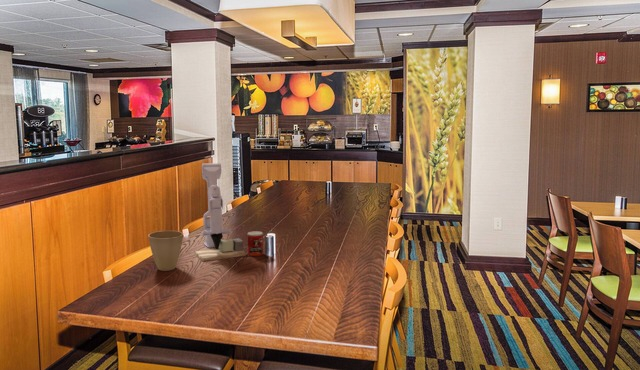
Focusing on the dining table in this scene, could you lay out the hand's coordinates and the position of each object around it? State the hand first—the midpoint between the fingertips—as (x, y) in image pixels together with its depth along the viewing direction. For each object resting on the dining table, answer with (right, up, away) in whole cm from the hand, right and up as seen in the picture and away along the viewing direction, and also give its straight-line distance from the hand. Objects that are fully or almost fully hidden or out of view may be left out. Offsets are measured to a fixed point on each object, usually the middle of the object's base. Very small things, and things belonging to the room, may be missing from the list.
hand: (216, 248), depth 247 cm
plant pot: (-18, -7, -21) cm, 29 cm away
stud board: (+1, -3, +1) cm, 4 cm away
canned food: (+19, -3, +3) cm, 19 cm away
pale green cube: (+4, -1, +2) cm, 5 cm away
